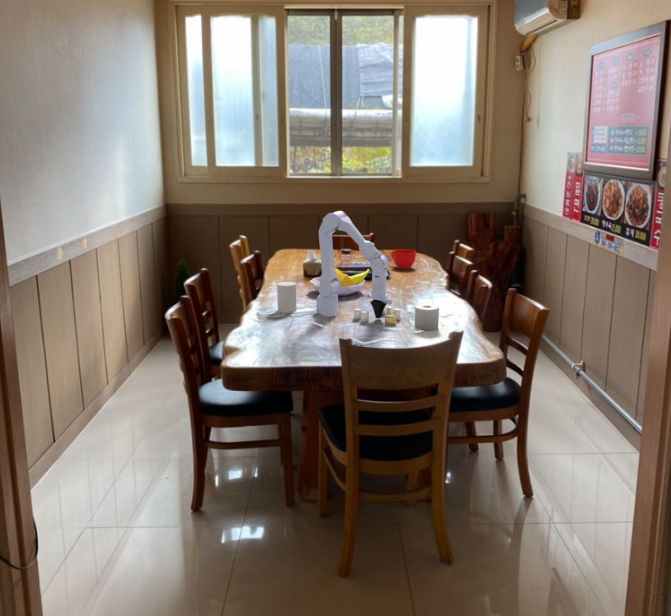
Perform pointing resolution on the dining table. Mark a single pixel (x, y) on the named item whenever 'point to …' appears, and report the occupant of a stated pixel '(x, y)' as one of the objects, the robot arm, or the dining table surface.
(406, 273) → the dining table surface
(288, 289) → the cup
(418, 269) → the dining table surface
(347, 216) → the robot arm
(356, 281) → the fruit bowl
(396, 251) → the ceramic cup
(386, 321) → the brass nut
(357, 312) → the spacers
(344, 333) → the dining table surface
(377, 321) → the field board
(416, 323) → the toilet tissue
